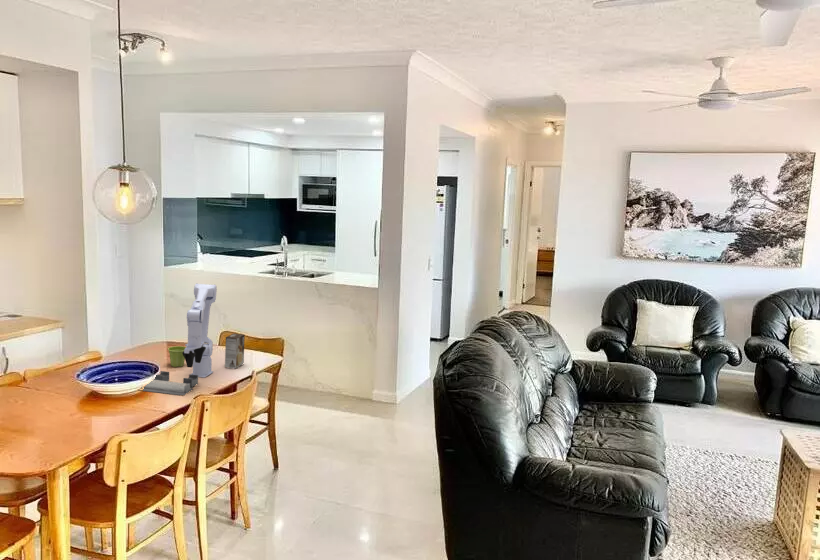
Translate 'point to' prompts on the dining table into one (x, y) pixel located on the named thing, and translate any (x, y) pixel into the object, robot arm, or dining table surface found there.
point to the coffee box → (234, 350)
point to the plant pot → (176, 356)
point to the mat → (165, 391)
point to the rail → (168, 386)
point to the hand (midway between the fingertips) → (193, 364)
